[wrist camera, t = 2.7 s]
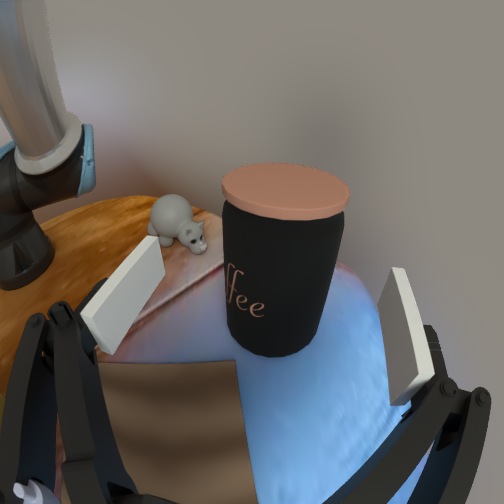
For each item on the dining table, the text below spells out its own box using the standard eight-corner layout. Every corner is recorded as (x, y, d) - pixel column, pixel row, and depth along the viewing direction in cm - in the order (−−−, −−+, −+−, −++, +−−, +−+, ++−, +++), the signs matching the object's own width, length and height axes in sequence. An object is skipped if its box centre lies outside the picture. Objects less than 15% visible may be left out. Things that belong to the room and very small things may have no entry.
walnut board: (83, 365, 25) (79, 361, 25) (235, 364, 28) (234, 360, 27) (66, 508, 11) (61, 507, 10) (262, 527, 13) (262, 528, 12)
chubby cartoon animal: (183, 277, 43) (191, 243, 37) (140, 231, 46) (142, 195, 40) (214, 256, 48) (226, 222, 42) (171, 215, 51) (177, 180, 44)
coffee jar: (223, 299, 36) (216, 164, 25) (300, 291, 37) (320, 162, 27) (234, 369, 27) (228, 213, 17) (328, 353, 29) (375, 207, 19)
